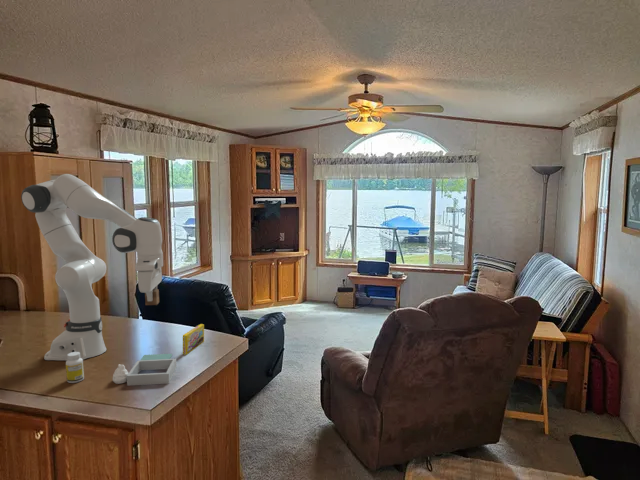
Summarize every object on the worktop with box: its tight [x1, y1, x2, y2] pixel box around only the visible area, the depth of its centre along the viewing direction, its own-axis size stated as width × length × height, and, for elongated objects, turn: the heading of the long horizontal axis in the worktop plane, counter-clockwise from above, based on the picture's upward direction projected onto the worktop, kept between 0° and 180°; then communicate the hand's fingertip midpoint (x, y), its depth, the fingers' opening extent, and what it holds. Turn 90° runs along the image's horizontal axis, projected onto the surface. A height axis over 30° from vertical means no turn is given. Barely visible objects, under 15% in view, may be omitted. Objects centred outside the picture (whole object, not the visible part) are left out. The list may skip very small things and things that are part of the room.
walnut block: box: [144, 288, 160, 306], centre depth 168 cm, size 4×4×5 cm
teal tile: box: [140, 353, 173, 360], centre depth 179 cm, size 11×11×1 cm
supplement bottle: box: [65, 352, 85, 384], centre depth 161 cm, size 5×5×10 cm
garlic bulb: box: [112, 363, 129, 385], centre depth 161 cm, size 6×6×5 cm
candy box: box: [182, 323, 205, 356], centre depth 194 cm, size 16×2×8 cm, turn 168°
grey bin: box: [126, 358, 177, 387], centre depth 165 cm, size 14×14×4 cm
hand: (152, 299), depth 168 cm, fingers closed on walnut block, 4 cm apart
